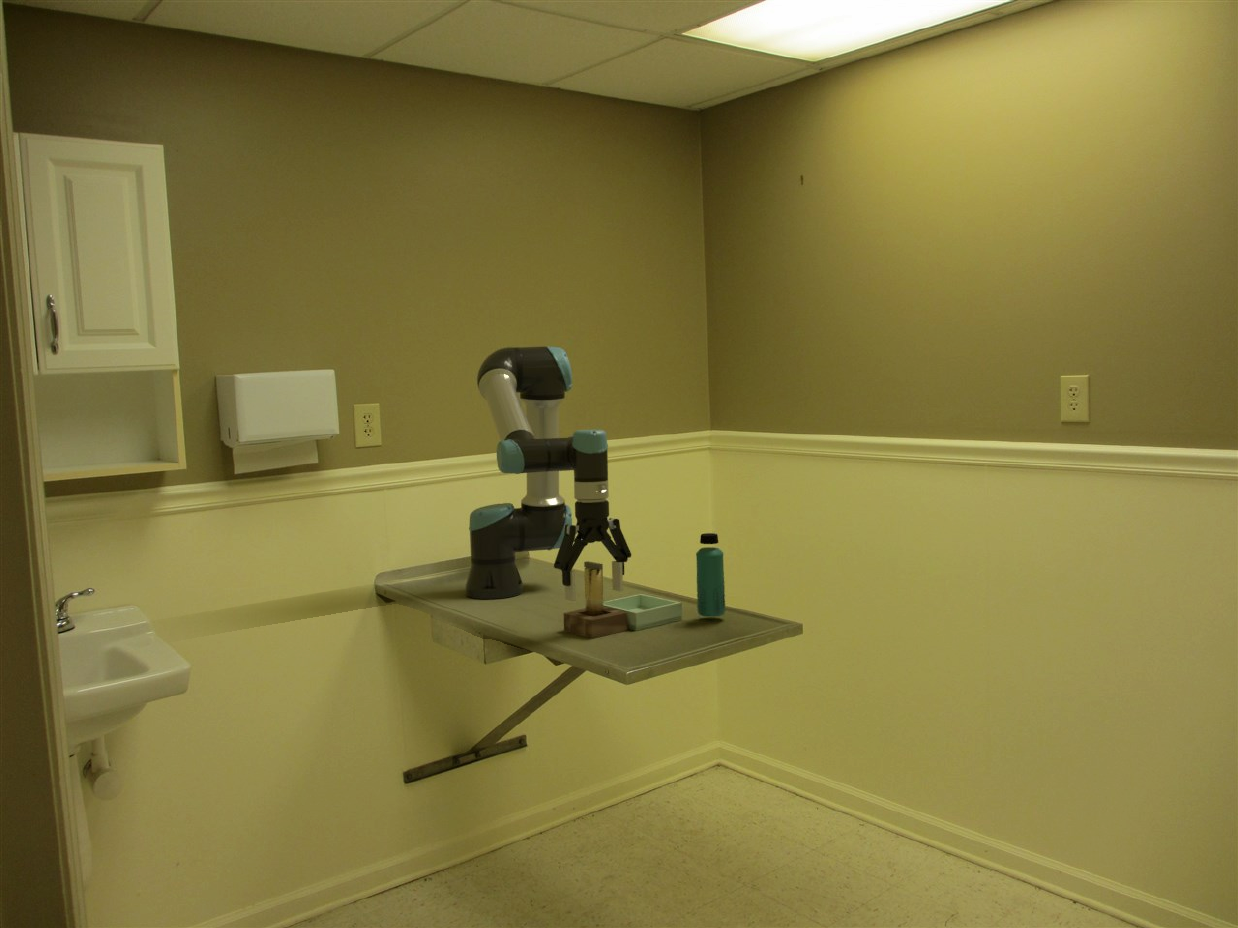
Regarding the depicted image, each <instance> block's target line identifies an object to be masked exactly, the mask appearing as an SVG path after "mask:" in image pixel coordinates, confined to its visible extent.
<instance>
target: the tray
mask: <svg viewBox="0 0 1238 928" xmlns="http://www.w3.org/2000/svg"><path fill="white" fill-rule="evenodd" d="M682 606H683V605H682V602H680V601H676V600H672V599H667V598H661V597H657V596H653V595H648V594H643V593H639V594H633V595H628V596H623V597H620V598H614V599H611V600H607V601H605V600H604V607H606V608H611V609H615V610H619V611H623V612H627V630H631V631H632V630H633V631H635V632H637V631H642V630H646V629H650V628H654V627H659V626H662V625H665V624H671V623H674V622H678V621H682V620H683V616H682V615H683V610H682Z"/></svg>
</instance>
